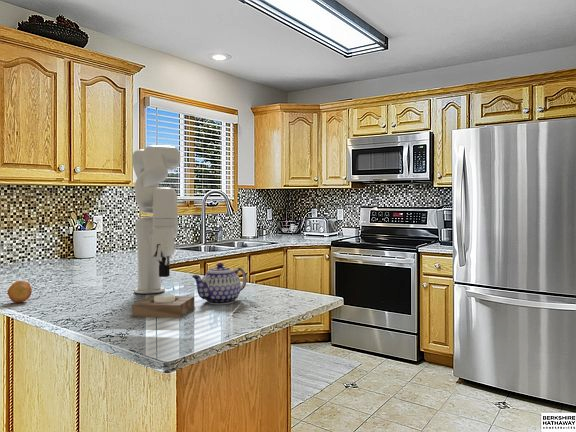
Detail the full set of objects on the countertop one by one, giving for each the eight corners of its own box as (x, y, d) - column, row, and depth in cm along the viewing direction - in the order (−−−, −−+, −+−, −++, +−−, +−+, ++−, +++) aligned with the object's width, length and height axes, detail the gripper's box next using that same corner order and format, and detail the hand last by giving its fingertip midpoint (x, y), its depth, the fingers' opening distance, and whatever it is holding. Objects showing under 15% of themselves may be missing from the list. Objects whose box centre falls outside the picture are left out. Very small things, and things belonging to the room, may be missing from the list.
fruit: (5, 286, 178) (5, 283, 171) (28, 280, 182) (28, 277, 176) (10, 306, 177) (10, 304, 170) (33, 300, 181) (34, 297, 175)
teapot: (235, 295, 190) (235, 258, 190) (258, 300, 178) (258, 261, 178) (181, 303, 173) (181, 263, 173) (203, 309, 161) (202, 267, 161)
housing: (151, 306, 167) (151, 295, 167) (194, 307, 165) (194, 296, 165) (132, 316, 151) (132, 304, 151) (179, 317, 149) (179, 305, 149)
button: (158, 304, 162) (158, 294, 162) (177, 304, 161) (177, 294, 161) (150, 308, 155) (150, 298, 155) (171, 308, 154) (171, 298, 154)
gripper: (161, 222, 166) (161, 272, 166) (145, 224, 151) (145, 280, 151) (181, 222, 165) (181, 273, 166) (167, 224, 150) (167, 280, 151)
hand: (164, 276), depth 159 cm, fingers closed
